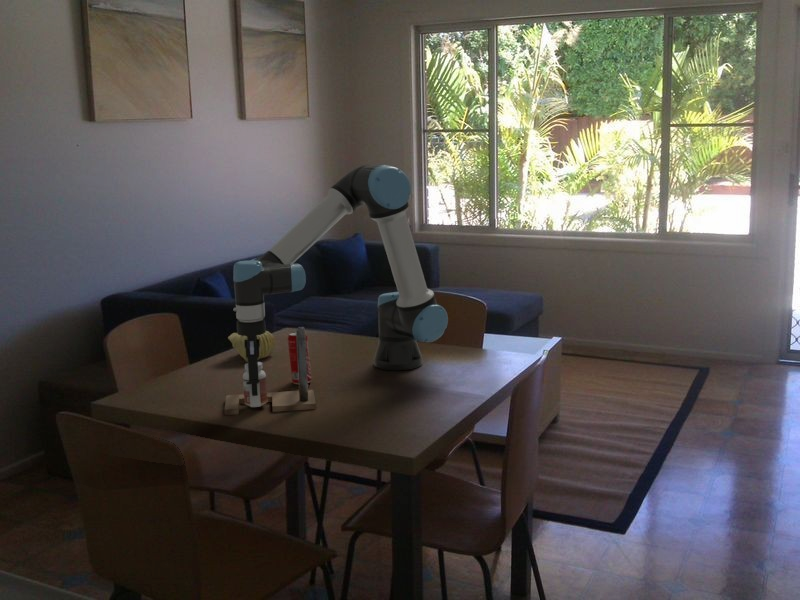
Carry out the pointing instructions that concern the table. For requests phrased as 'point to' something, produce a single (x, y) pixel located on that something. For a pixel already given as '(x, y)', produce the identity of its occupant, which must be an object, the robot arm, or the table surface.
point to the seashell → (264, 350)
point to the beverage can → (293, 358)
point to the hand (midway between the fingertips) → (255, 402)
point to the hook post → (302, 364)
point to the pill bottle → (261, 382)
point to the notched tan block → (274, 402)
